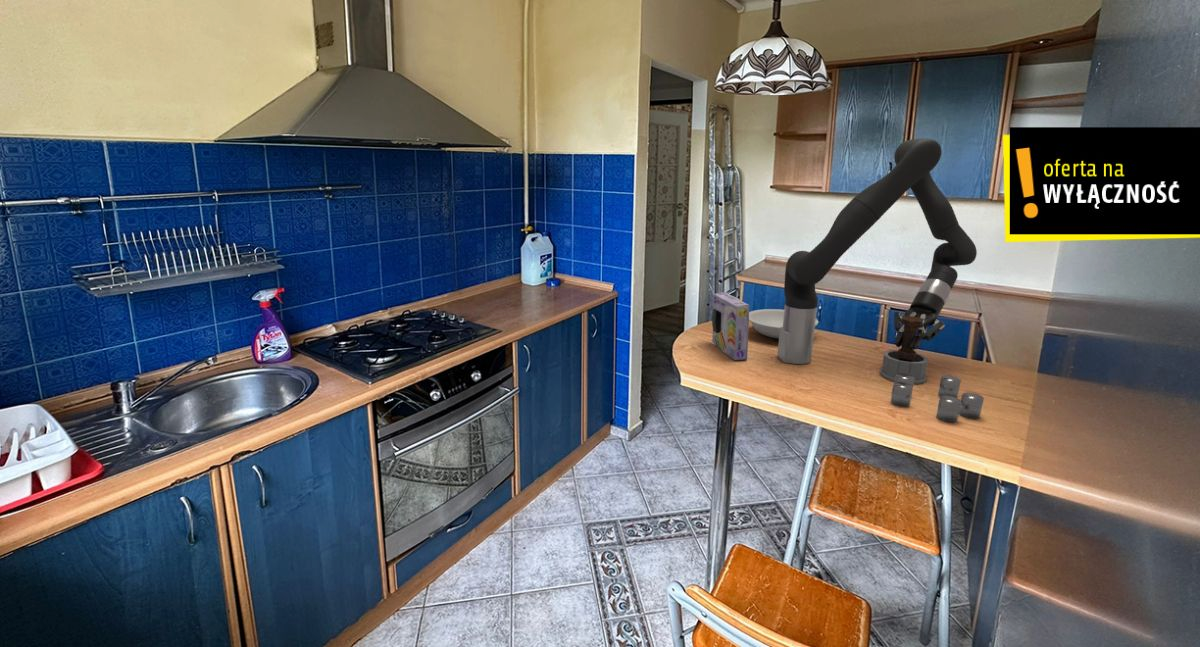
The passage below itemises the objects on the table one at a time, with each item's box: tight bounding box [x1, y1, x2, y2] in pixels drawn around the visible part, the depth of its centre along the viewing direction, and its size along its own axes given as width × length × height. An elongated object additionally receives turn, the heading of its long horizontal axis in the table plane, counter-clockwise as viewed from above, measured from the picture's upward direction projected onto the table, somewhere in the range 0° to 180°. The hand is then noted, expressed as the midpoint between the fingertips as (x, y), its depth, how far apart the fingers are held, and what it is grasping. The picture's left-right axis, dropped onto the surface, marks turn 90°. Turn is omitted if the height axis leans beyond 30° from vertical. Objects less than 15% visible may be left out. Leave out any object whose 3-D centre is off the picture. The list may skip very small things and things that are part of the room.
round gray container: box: [878, 349, 929, 385], centre depth 162 cm, size 12×12×6 cm
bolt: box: [897, 316, 923, 362], centre depth 160 cm, size 6×5×15 cm
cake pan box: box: [711, 291, 750, 361], centre depth 180 cm, size 19×5×18 cm, turn 11°
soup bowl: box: [749, 308, 819, 340], centre depth 198 cm, size 24×24×7 cm
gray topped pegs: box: [890, 373, 985, 424], centre depth 143 cm, size 19×19×5 cm
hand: (904, 347), depth 159 cm, fingers closed on bolt, 3 cm apart
